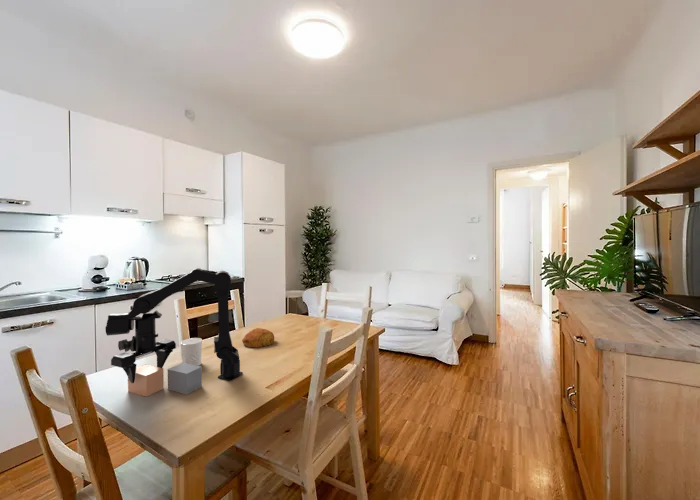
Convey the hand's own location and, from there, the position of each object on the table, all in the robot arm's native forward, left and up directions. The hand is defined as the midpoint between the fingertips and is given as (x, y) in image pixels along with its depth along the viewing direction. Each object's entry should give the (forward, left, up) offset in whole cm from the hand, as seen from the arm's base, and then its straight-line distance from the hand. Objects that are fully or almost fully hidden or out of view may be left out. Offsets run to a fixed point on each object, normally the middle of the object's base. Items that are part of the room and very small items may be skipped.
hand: (146, 376), depth 103 cm
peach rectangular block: (0, 0, -4) cm, 5 cm away
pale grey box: (-11, -6, -4) cm, 13 cm away
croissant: (-5, -53, -5) cm, 53 cm away
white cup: (+3, -21, -5) cm, 22 cm away
